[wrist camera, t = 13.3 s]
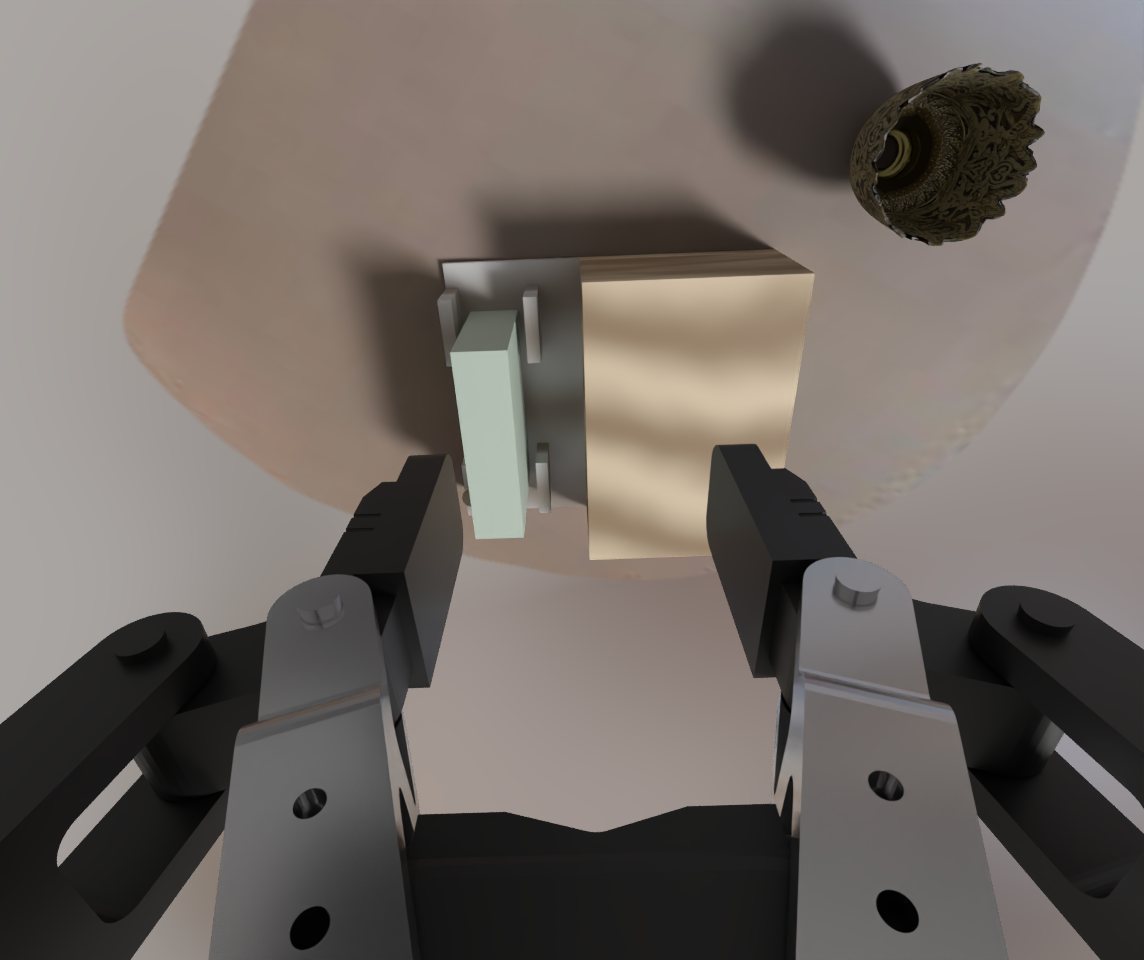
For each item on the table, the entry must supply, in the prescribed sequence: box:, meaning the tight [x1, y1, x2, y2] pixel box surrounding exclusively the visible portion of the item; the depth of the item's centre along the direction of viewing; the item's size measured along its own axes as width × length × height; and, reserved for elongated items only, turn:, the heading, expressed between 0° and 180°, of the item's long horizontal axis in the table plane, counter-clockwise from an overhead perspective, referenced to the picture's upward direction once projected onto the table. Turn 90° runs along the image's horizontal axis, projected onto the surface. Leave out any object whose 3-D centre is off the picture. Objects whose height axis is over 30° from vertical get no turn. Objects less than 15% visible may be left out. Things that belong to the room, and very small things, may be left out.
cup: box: [849, 63, 1045, 246], centre depth 31 cm, size 8×7×8 cm
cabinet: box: [437, 249, 815, 560], centre depth 39 cm, size 18×20×7 cm
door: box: [450, 310, 530, 539], centre depth 38 cm, size 12×4×8 cm, turn 2°
